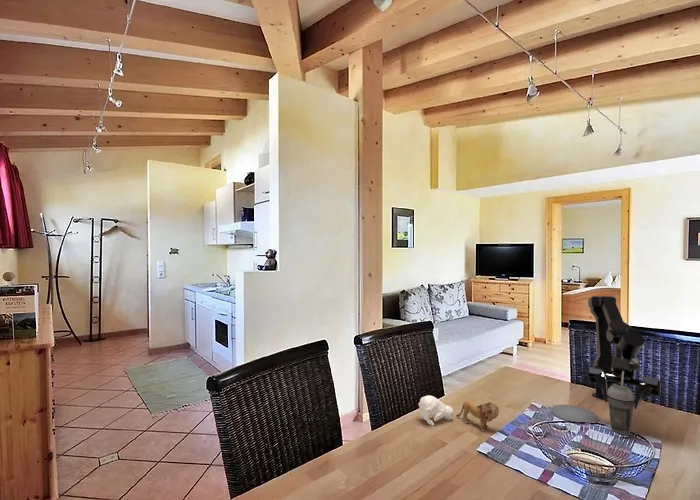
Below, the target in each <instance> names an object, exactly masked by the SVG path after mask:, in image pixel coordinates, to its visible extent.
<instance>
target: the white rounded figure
mask: <svg viewBox="0 0 700 500" xmlns="http://www.w3.org/2000/svg"><path fill="white" fill-rule="evenodd" d="M418 407H419V409H418V410H419V414H420V417H421V418H422V419H423V421H426V422H427V424H428V425H430V426H432V427H434V426H435V423H434V422H437V421H440V419H442V418H444V420H445V421H446V420H447V421H448V422H449V421H450V420H451V419H452V417H453V415H454V409H453V408H452V407H451V406H450V405H446V404H444V403H443V402H442V401H441V400H440V399H438V398H437V397H435V396H433V395H425V396H422V397H421V398H420V399H419V402H418ZM430 416H433V420H432V419H430Z"/></svg>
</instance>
